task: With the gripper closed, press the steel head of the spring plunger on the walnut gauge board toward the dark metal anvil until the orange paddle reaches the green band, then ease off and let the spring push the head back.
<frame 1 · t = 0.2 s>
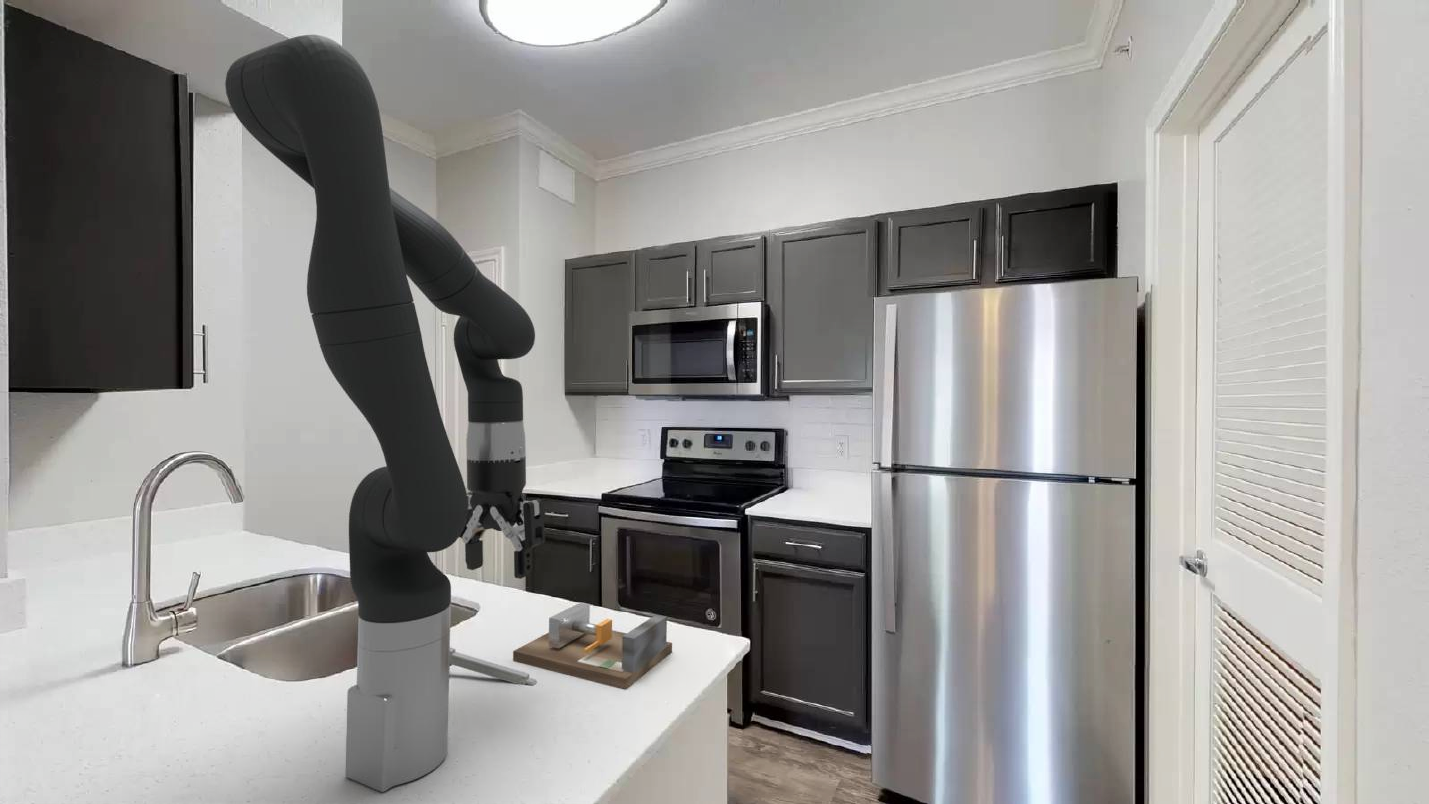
hand: (498, 572, 78), 18 cm above the worktop, tool pointing down, fingers open, 8 cm apart
gauge board: (594, 656, 92), on the worktop
plunger: (582, 627, 94), point 4 cm above the worktop, slide at 0.0 cm
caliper: (470, 680, 85), on the worktop
orange paddle: (597, 635, 90), point 4 cm above the worktop, slide at 0.0 cm
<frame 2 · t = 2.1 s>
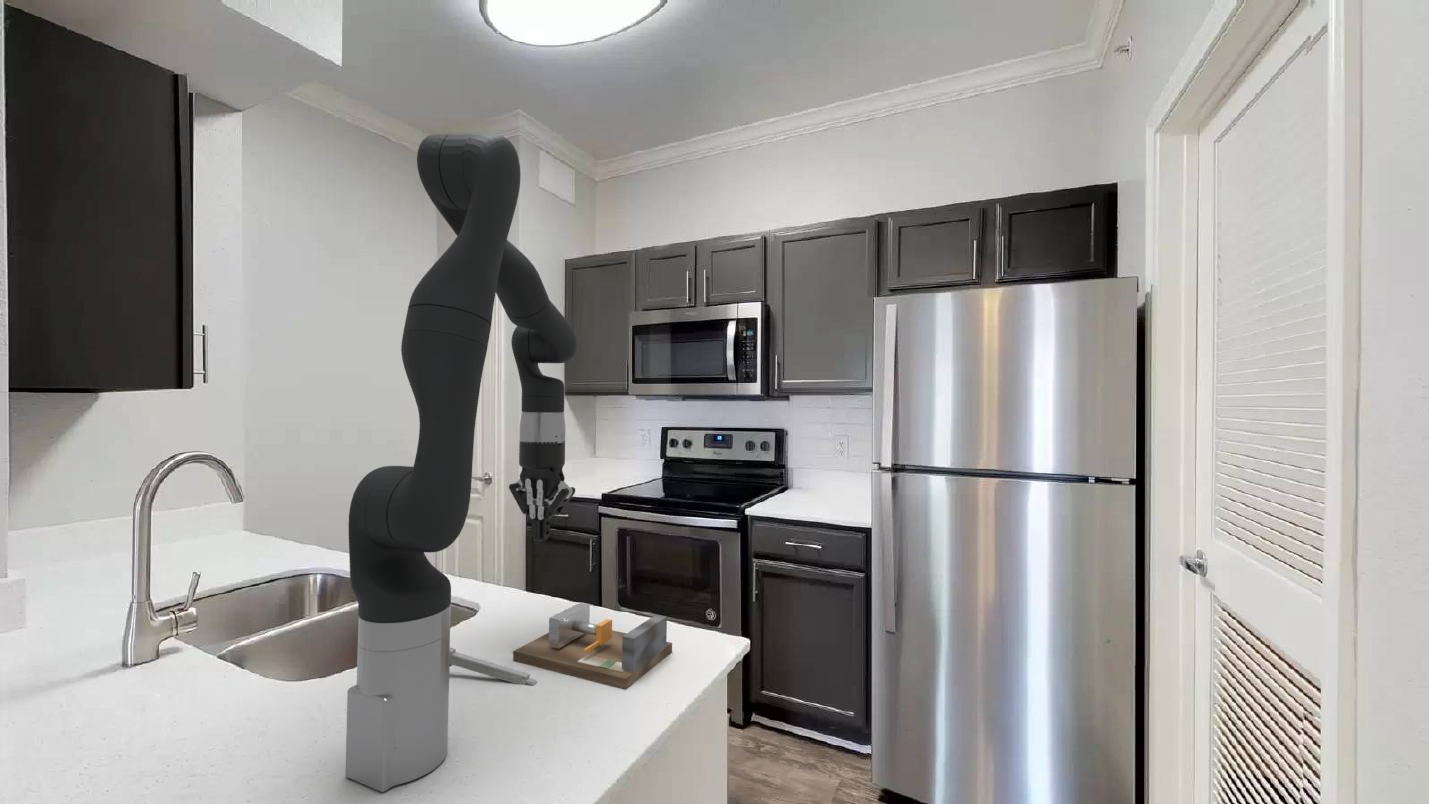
hand: (540, 540, 97), 17 cm above the worktop, tool pointing down, fingers closed
nothing on the worktop moved.
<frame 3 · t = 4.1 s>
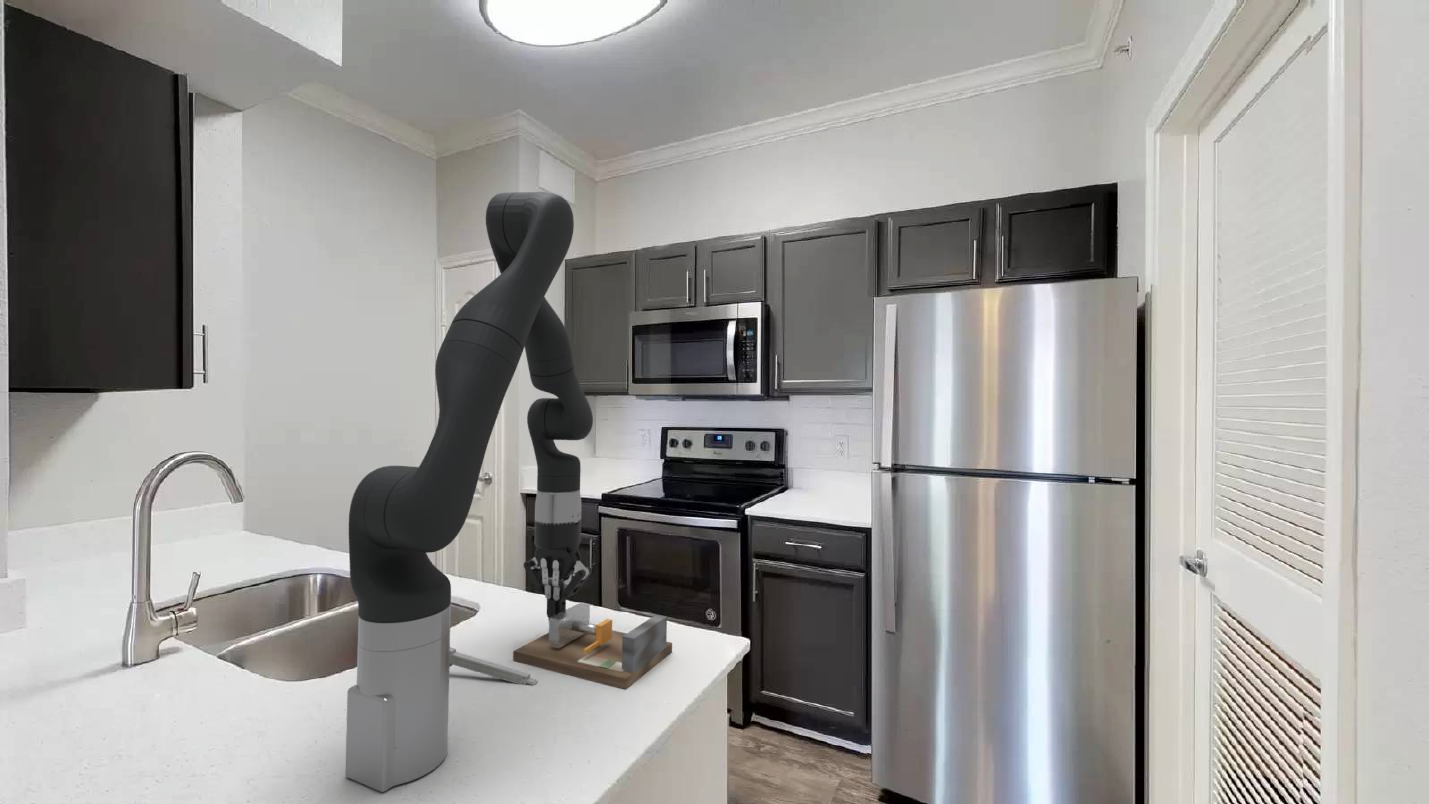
hand: (556, 620, 96), 4 cm above the worktop, tool pointing down, fingers closed
plunger: (582, 627, 94), point 4 cm above the worktop, slide at 0.0 cm, touching gripper
everything else where it was.
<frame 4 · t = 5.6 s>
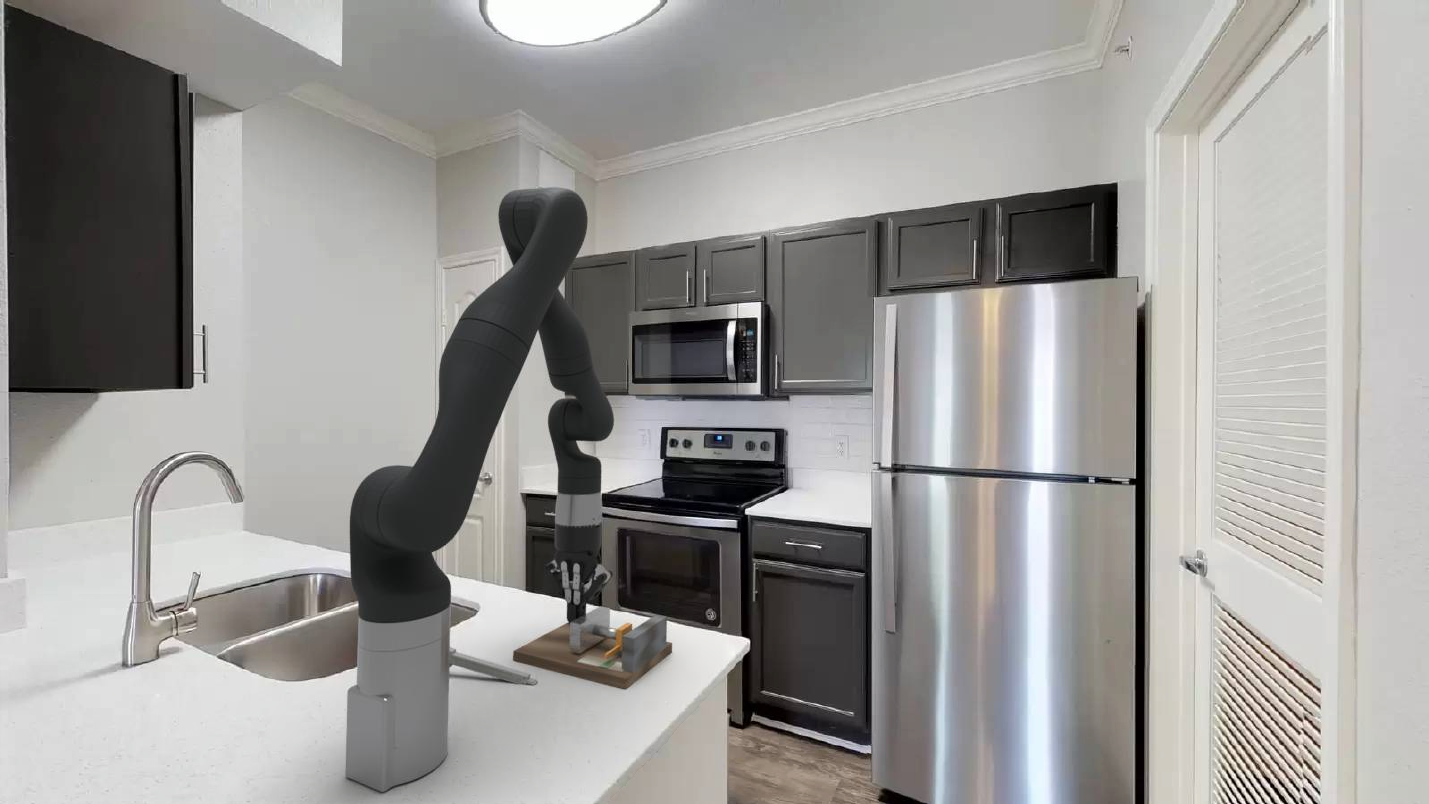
hand: (576, 624, 94), 5 cm above the worktop, tool pointing down, fingers closed
plunger: (603, 631, 92), point 4 cm above the worktop, slide at 4.1 cm, touching gripper, orange paddle
orange paddle: (618, 640, 89), point 4 cm above the worktop, slide at 3.8 cm, touching plunger
everything else where it was.
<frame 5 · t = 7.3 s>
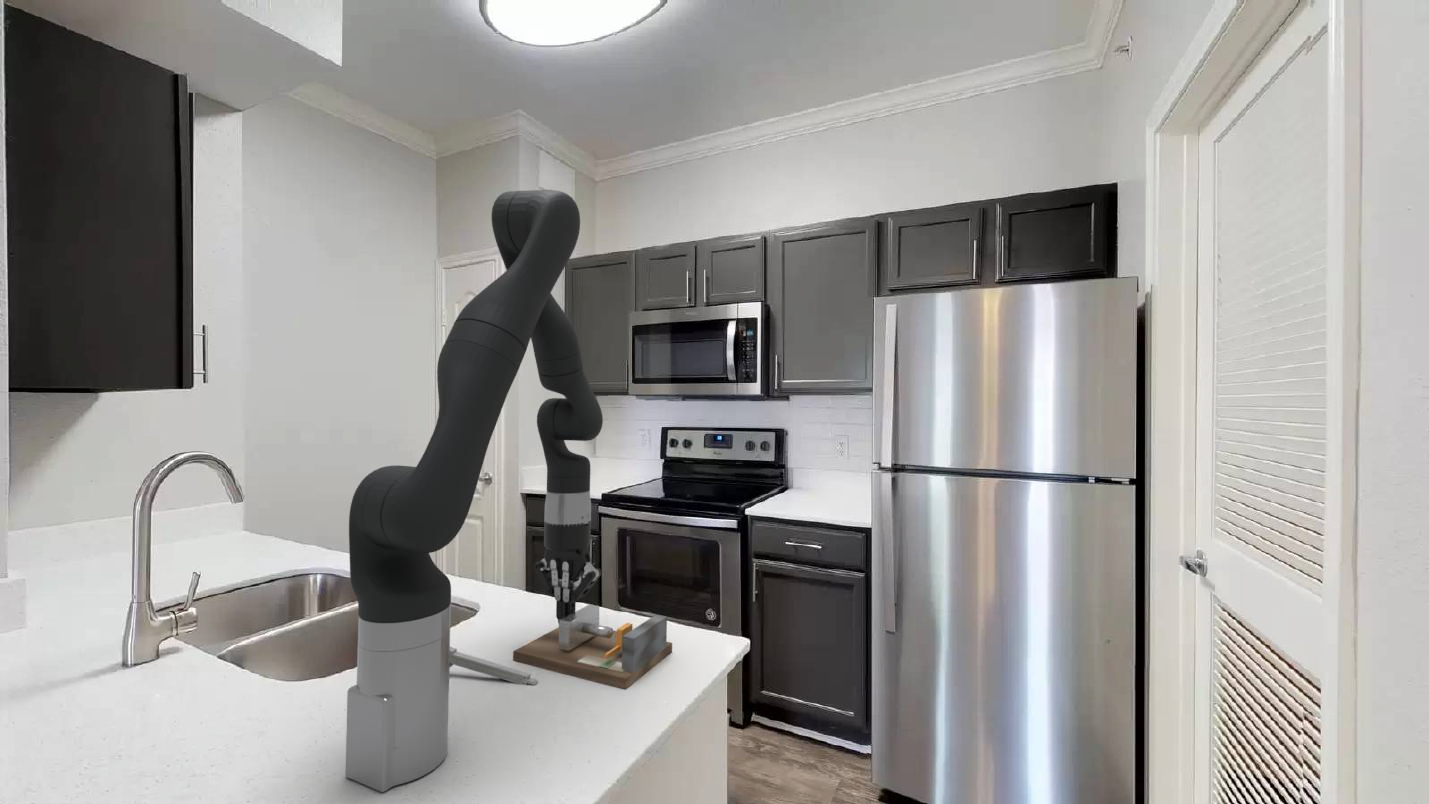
hand: (565, 622, 95), 5 cm above the worktop, tool pointing down, fingers closed
plunger: (592, 629, 93), point 4 cm above the worktop, slide at 2.0 cm, touching gripper
orange paddle: (618, 640, 89), point 4 cm above the worktop, slide at 3.9 cm
everything else where it was.
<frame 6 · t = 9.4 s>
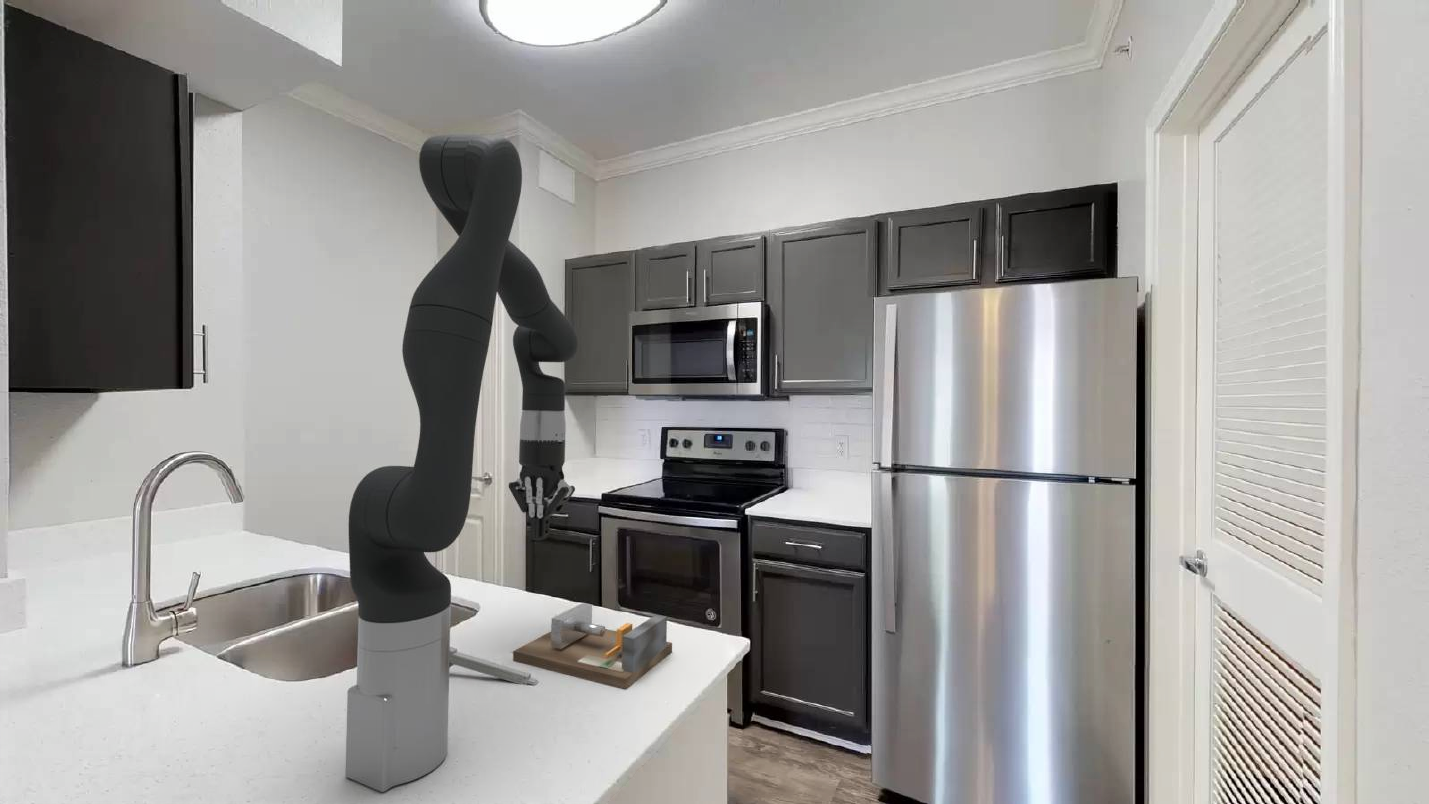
hand: (539, 538, 97), 18 cm above the worktop, tool pointing down, fingers closed
plunger: (584, 627, 93), point 4 cm above the worktop, slide at 0.5 cm
everything else where it was.
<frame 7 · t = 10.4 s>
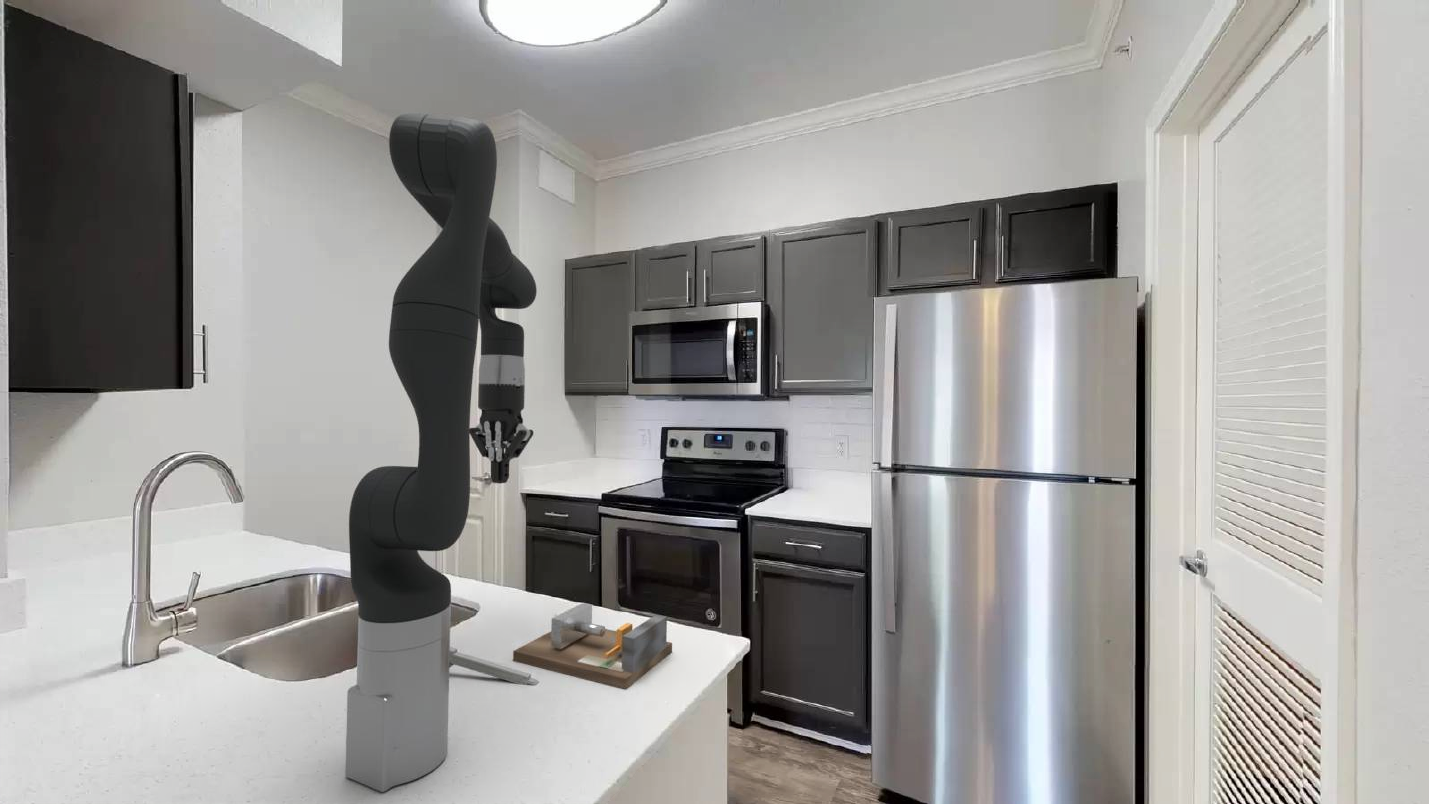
hand: (499, 482, 99), 27 cm above the worktop, tool pointing down, fingers closed
nothing on the worktop moved.
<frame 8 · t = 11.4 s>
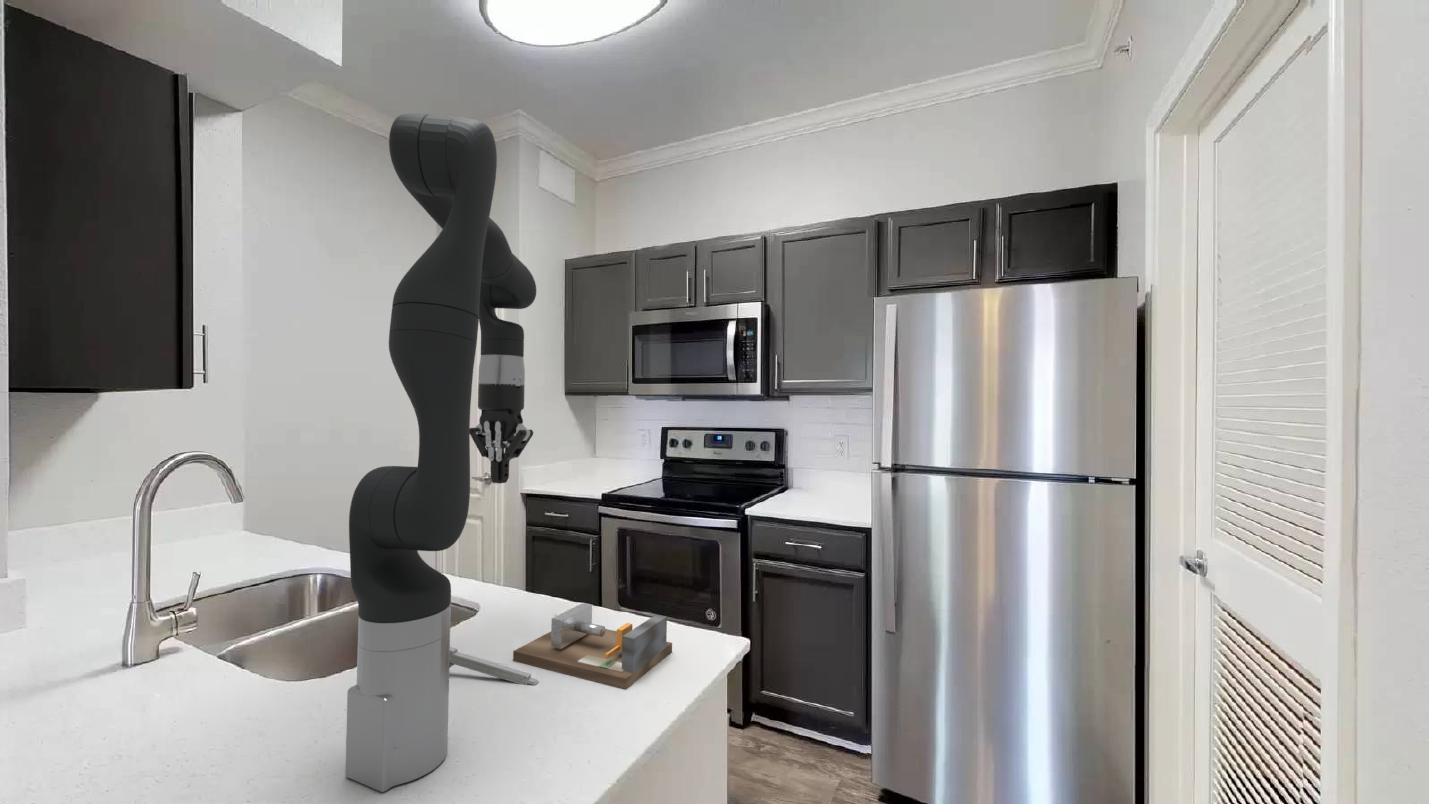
hand: (499, 482, 99), 27 cm above the worktop, tool pointing down, fingers closed
nothing on the worktop moved.
at the end: orange paddle slide at 3.9 cm; plunger slide at 0.5 cm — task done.
